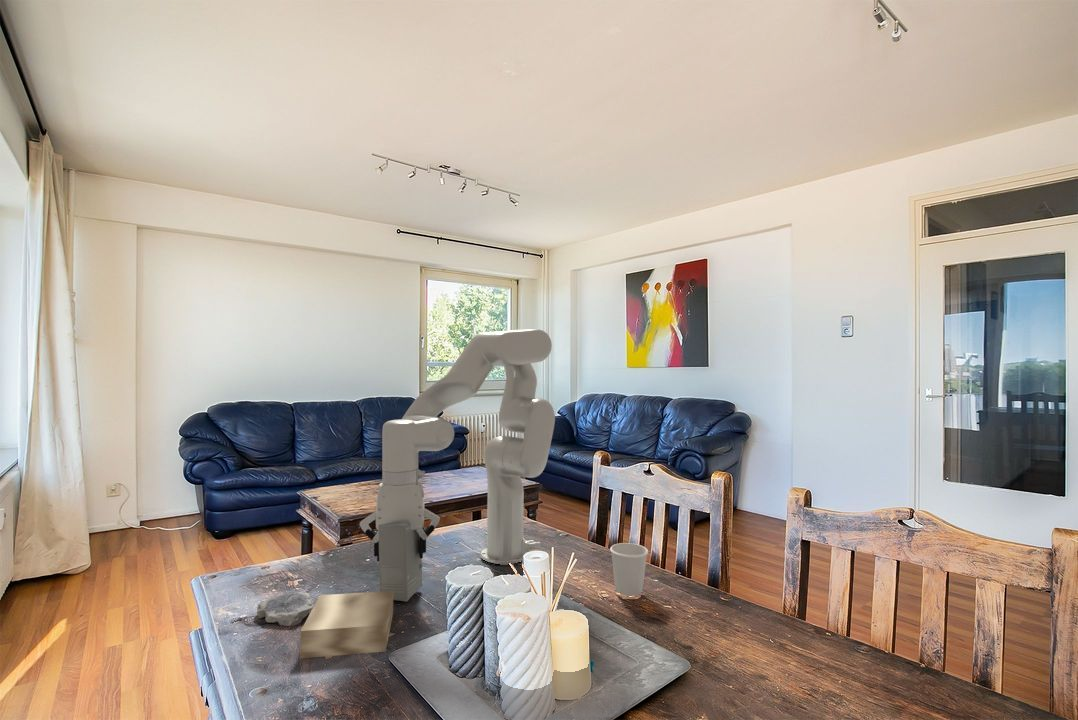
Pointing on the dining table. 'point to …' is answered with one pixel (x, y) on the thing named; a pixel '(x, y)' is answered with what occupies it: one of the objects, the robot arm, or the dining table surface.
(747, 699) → the dining table surface
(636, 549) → the dixie cup
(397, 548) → the skincare box
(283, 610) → the grey rock
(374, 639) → the maple block
